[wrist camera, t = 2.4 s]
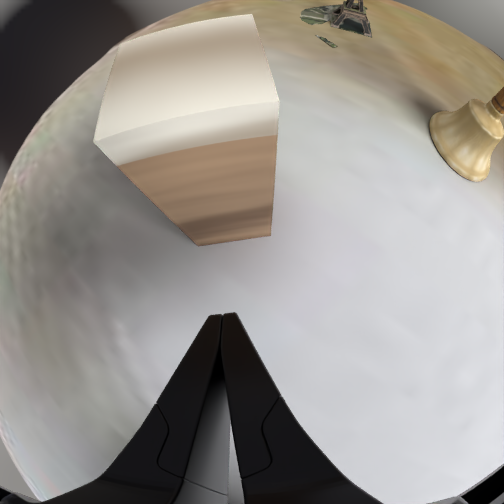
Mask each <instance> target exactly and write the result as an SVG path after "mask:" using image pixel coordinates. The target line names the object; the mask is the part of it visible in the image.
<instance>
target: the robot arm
mask: <svg viewBox="0 0 504 504" xmlns="http://www.w3.org/2000/svg"><path fill="white" fill-rule="evenodd" d="M230 420H231V426H232V432H233V438H234V444H235V450H236V456H237V461H238V466H239V472H240V477H241V479H242V480H241V482H242V488H243V494H244V503H245V504H383V503H382V502H380V501H379V500H377V499H376V498H374V497H373V496H371V495H370V494H368V493H367V492H365V491H364V490H362V489H361V488H359V487H358V486H357V485H355V484H354V483H353V482H351V481H350V480H349V479H348V478H347V477H346V476H345V475H344V474H342V473H341V472H340V471H339V470H338V468H337V467H336V466H335V465H334V464H333V463H332V462H331V461H330V460H329V459H328V458H327V456H326V455H325V454H324V453H323V452H322V451H321V450H320V448H319V447H318V446H317V445H316V444H315V443H314V441H313V440H312V439H311V438H310V437H309V436H308V434H307V433H306V432H305V430H304V429H303V428H302V427H301V425H300V424H299V423H298V421H297V420H296V418H295V417H294V415H293V413H292V412H291V410H290V409H289V407H288V406H287V404H286V402H285V400H284V399H283V397H281V394H280V392H279V390H278V388H277V387H276V385H275V383H274V381H273V379H272V378H271V376H270V374H269V372H268V370H267V369H266V367H265V365H264V363H263V361H262V360H261V358H260V356H259V354H258V352H257V350H256V349H255V347H254V345H253V343H252V341H251V339H250V337H249V336H248V334H247V332H246V330H245V328H244V326H243V324H242V322H241V320H240V319H239V317H238V315H237V313H235V312H233V313H225V314H223V315H222V314H216V315H210V316H209V317H208V318H207V320H206V321H205V323H204V325H203V326H202V328H201V329H200V331H199V333H198V334H197V336H196V338H195V339H194V341H193V343H192V344H191V346H190V347H189V349H188V351H187V352H186V354H185V356H184V357H183V359H182V361H181V362H180V364H179V365H178V367H177V369H176V370H175V372H174V374H173V375H172V377H171V379H170V380H169V382H168V384H167V385H166V387H165V389H164V390H163V392H162V393H161V395H160V397H159V398H158V400H157V404H155V405H154V406H153V408H152V410H151V411H150V413H149V415H148V416H147V418H146V419H145V421H144V422H143V424H142V425H141V427H140V428H139V430H138V431H137V432H136V434H135V435H134V436H133V438H132V439H131V440H130V442H129V443H128V444H127V445H126V447H125V448H124V449H123V450H122V452H121V453H120V454H119V455H118V457H117V458H116V459H115V460H114V462H113V463H112V464H111V465H110V466H109V468H108V469H107V470H106V471H105V472H104V473H103V474H102V475H101V476H99V477H98V478H97V479H95V480H94V481H92V482H90V483H88V484H86V485H83V486H81V487H79V488H77V489H74V490H72V491H70V492H67V493H65V494H62V495H60V496H57V497H55V498H52V499H49V500H47V501H43V502H41V501H38V500H35V499H33V498H30V497H28V496H25V495H22V494H20V493H16V492H12V491H10V490H8V489H6V488H4V487H2V486H0V504H228V496H227V495H228V472H229V444H230ZM428 504H504V464H503V465H501V466H500V467H499V468H497V469H496V470H495V471H493V472H492V473H491V474H489V475H488V476H487V477H485V478H484V479H483V480H481V481H480V482H478V483H477V484H475V485H474V486H472V487H471V488H469V489H468V490H466V491H465V492H463V493H462V494H460V495H458V496H457V497H451V498H448V499H444V500H440V501H437V502H433V503H428Z"/></svg>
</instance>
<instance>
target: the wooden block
mask: <svg viewBox="0 0 504 504" xmlns="http://www.w3.org/2000/svg"><path fill="white" fill-rule="evenodd" d="M278 119H279V98H278V94H277V91H276V87H275V84H274V81H273V77H272V74H271V71H270V67H269V64H268V61H267V58H266V54H265V51H264V48H263V45H262V42H261V39H260V36H259V33H258V30H257V27H256V24H255V21H254V19H253V16H252V14H249V15H239V16H230V17H223V18H217V19H210V20H205V21H200V22H194V23H190V24H185V25H181V26H177V27H173V28H169V29H165V30H161V31H158V32H154V33H151V34H148V35H145V36H141V37H138V38H135V39H132V40H130V41H127V42H124V43H121V44H120V46H119V49H118V51H117V54H116V57H115V60H114V63H113V66H112V69H111V72H110V75H109V79H108V82H107V85H106V89H105V93H104V96H103V100H102V104H101V108H100V112H99V116H98V121H97V126H96V130H95V135H94V141H93V142H94V143H95V144H96V145H97V146H98V147H99V148H100V149H101V151H102V152H103V153H104V154H105V155H106V156H107V157H108V158H109V159H110V160H111V161H112V162H113V163H114V164H115V165H116V166H117V167H118V168H119V169H120V170H121V171H122V172H123V173H124V174H125V175H126V176H127V177H128V178H129V179H130V180H131V181H132V182H133V183H134V184H135V185H136V186H137V187H138V188H139V189H140V190H141V191H142V192H143V193H144V194H145V195H146V196H147V197H148V198H149V199H150V200H151V201H152V202H153V203H154V204H155V205H156V206H157V207H158V208H159V209H160V210H161V211H162V212H163V213H164V214H165V215H166V216H167V217H168V218H169V219H170V220H171V221H172V222H173V223H174V224H175V225H177V226H178V227H179V228H180V229H181V230H182V231H183V232H184V233H185V234H186V235H187V236H188V237H189V238H190V239H191V240H192V241H193V242H194V243H195V244H196V245H197V246H203V245H210V244H217V243H223V242H230V241H237V240H244V239H251V238H258V237H265V236H271V225H272V212H273V198H274V183H275V168H276V152H277V136H278Z"/></svg>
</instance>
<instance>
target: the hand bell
mask: <svg viewBox="0 0 504 504" xmlns="http://www.w3.org/2000/svg"><path fill="white" fill-rule="evenodd" d="M503 114H504V87H503V88H502V89H501V90H500V91H499V92H498V93H497V94H496V96H494V97H493V98H492V100H490V101H489V102H488V103H487V104H486V103H484V102H483V101H481V100H479V99H472V100H470V101H469V102H468V103H467V104H465V105H464V106H463V107H462V108H460V109H459V110H457V111H454V112H449V111H441V112H437V113H435V114H434V115H433V116H432V117H431V120H430V133H431V137H432V139H433V142H434V144H435V146H436V148H437V150H438V151H439V153H440V154H441V156H442V157H443V158H444V159H445V161H446V162H447V163H448V164H449V165H450V167H451V168H452V169H454V170H455V171H456V172H457V173H458V174H459V175H461V176H462V177H464V178H466V179H468V180H471V181H474V182H479V181H482V180H484V179H485V178H486V177H487V175H488V173H489V170H490V156H491V154H492V151H493V150H494V148H495V147H496V145H497V144H498V142H499V141H500V140H501V139H502V137H503V134H504V130H503V126H502V124H501V121H500V118H501V117H502V116H503Z"/></svg>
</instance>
